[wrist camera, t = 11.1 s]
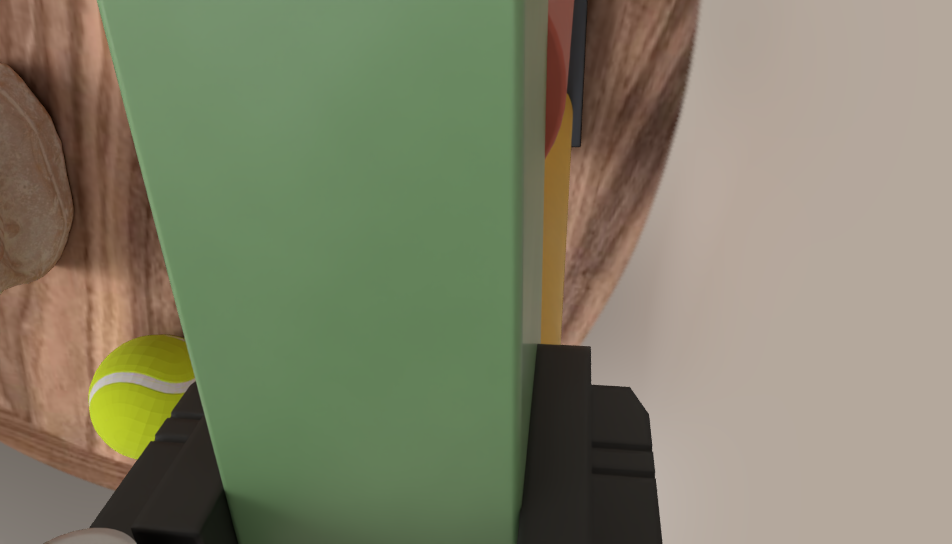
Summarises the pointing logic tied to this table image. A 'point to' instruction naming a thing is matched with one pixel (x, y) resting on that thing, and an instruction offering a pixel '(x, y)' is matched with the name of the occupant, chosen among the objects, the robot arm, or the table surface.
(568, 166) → the rods
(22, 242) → the sculpture
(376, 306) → the bar
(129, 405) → the tennis ball
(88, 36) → the table surface
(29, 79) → the table surface
